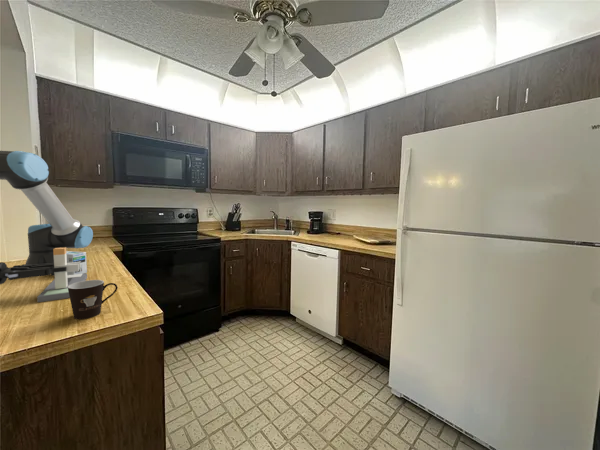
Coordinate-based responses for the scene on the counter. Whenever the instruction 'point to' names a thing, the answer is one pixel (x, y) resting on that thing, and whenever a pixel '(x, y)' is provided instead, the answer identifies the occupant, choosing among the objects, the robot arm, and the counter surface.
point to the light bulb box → (77, 258)
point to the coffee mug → (87, 298)
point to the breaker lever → (59, 259)
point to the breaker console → (61, 293)
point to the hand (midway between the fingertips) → (79, 266)
